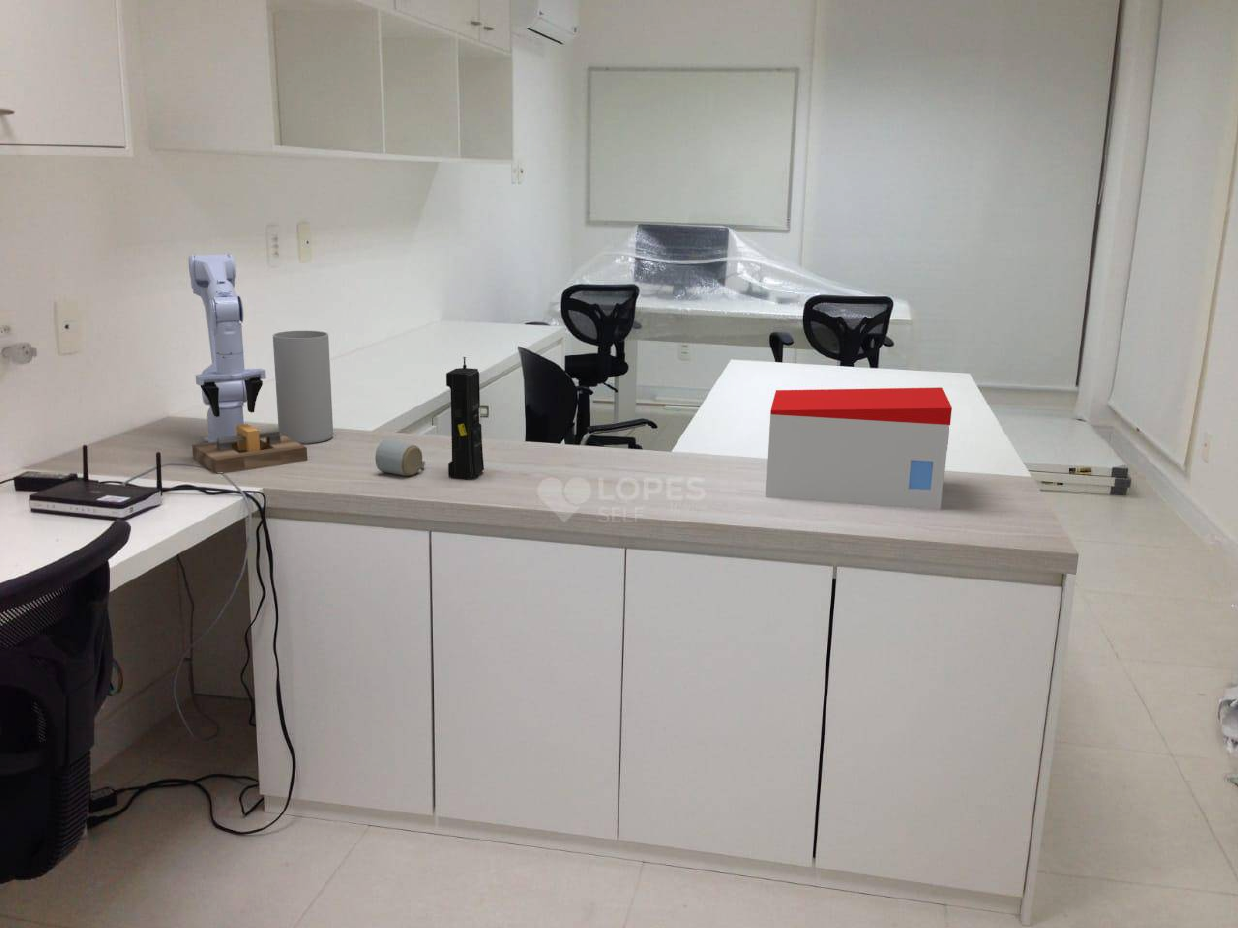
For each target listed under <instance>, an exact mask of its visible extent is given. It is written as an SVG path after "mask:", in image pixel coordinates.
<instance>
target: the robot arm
mask: <svg viewBox="0 0 1238 928" xmlns="http://www.w3.org/2000/svg"><path fill="white" fill-rule="evenodd" d="M236 271H237V270H236V261H235V257H234V255H232V253H228V254H190V255H189V256H188V272H189V273H188V274H189V278H190V287H191V289H192V293H193V294H195V295H196V296H198V297H201V299H202V303H203V305H204V307H205V317H206V325H207V335H208V341H209V343H208V344H209V350H210V355H211V356H210V358H211V364H210V365H209V366H207V367H206V368H205V369H204V370H203V371H202V372H201V374H196V375H195V383H196V385H199V386H200V388H201V396H202V401H203V404H204V405H206V406H208V409H207V410H206V420H207V432H208V433H207V434H208V437H204V440H205V441H206V442H207V443H208V442H215V441H217V438H223V437H230V436H237V433H236V425H243V424H245V423H244V409H243V408H244V406H245V404H246V406H247V407H246V408H247V411H248V412H250V413H255V408H256V404H257V399H258V396H259V393H260V391H261V389H262V387H263V385H264V381H263V380H264V379H266V370H265V369H263V368H250V369H249V368H248V369H245V357H244V355H245V354H244V345H243V342H244V341H243V330H242V329H243V327H242V323H243V322H244V305H243V301H242V298H241V295H239V294H238V295H237V293H236V290H235V287H236V278H237V277H236V275H237V274H236V273H237V272H236ZM262 379H263V380H262ZM244 403H245V404H244Z"/></svg>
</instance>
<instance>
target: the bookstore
mask: <svg viewBox="0 0 1238 928" xmlns="http://www.w3.org/2000/svg"><path fill="white" fill-rule="evenodd" d="M772 399H773V400H772V403H771V407H770V412H769V413H770V414H769V428H768V430H769V431H768V443H767V444H768V445H767V465H766V478H765V479H766V483H765V495H764V496H765V498H775V499H785V500H786V499H789V500H800V501H801V500H803V501H804V500H805V501H816V502H829V503H845V504H853V505H854V504H855V505H858V504H859V505H870V506H884V507H895V508H896V507H897V508H899V507H900V508H910V509H913V508H914V509H925V510H937V511H941V509H942V500H943V491H944V490H943V487H944V480H945V479H944V477H945V472H946V471H945V469H946V462H947V461H946V459H947V451H948V443H949V435H950V434H949V433H950V426H951V419H952V409H953V408H952V405H951V403H950V401H949V399H948V397H947V395H946V393H945V391H944V389H943V387H898V388H897V387H894V388H893V387H891V388H889V387H888V388H886V387H884V388H883V387H881V388H837V389H836V388H832V389H831V388H830V389H829V388H828V389H825V388H824V389H778V390H777V389H776V390H775V393H774V396H773V398H772Z"/></svg>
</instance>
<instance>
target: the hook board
mask: <svg viewBox="0 0 1238 928" xmlns="http://www.w3.org/2000/svg"><path fill="white" fill-rule="evenodd" d="M241 440H246V437H244V436H243V435H238V436H230V437H223V438H217V441H215V442H208V441H207V442H202V443H201V442H200V443H193V444H192V445H191V448H192V449H191V450H192V451H191V452H192V458H193V459H194V460H196V461H197V462H199V463H200V464H202V465H203V466H205V467H206V468H207V469H208V470H210V469H212V470H211V471H212V472H213V473H214V474H216V475H219V473H218V472H223V473H222V474H225V473H226V474H227V473H232V472H240V471H247V470H252V469H260V468H267V467H272V466H278V465H279V466H280V465H285V464H291V463H293V464H295V463H299V462H305V461H308V460H309V459H308V447H307V446H305V445H304V444H300V443H298V442H296V441H294V440H292V439H290V438H288V437H286V436H285V435H283V434H281V433H280V432H279V430H270V431H269V430H268V431H264V432H263V431H261V432H259V440H260V450H259V451H252V452H247V449H246V450H238V446H237V441H241Z"/></svg>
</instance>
